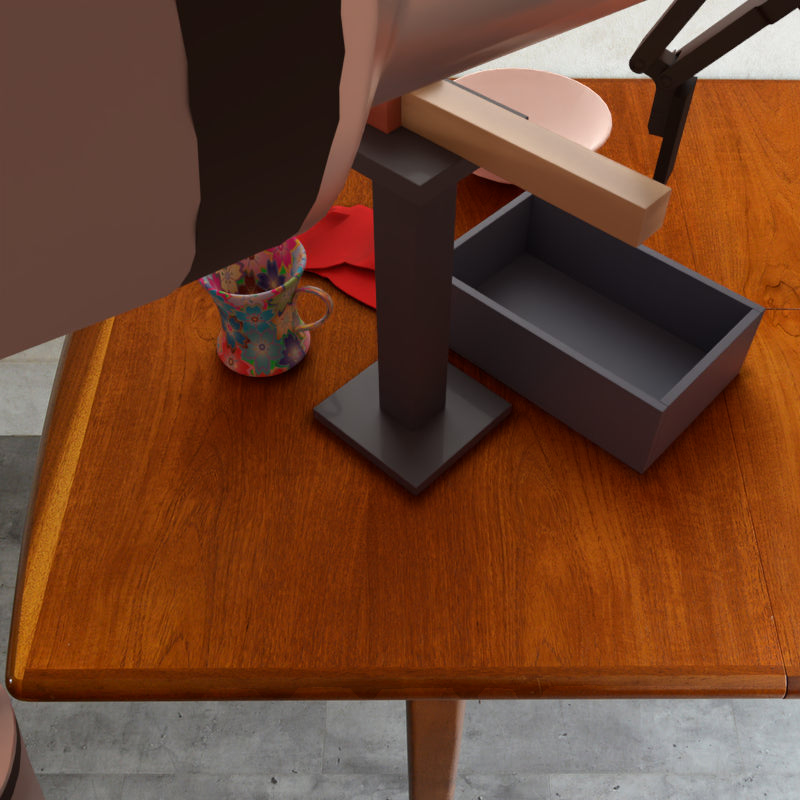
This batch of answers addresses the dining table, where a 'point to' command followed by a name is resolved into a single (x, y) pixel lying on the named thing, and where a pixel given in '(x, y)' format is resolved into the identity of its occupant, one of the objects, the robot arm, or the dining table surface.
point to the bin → (595, 327)
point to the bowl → (545, 104)
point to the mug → (263, 311)
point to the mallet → (531, 159)
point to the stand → (413, 319)
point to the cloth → (344, 251)
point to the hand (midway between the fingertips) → (769, 209)
